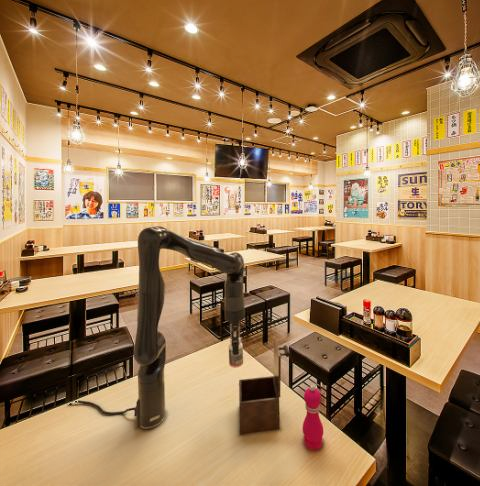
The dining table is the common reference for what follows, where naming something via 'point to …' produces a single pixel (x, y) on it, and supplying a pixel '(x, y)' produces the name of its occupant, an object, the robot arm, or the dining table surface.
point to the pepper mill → (312, 419)
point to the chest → (258, 405)
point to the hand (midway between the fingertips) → (235, 349)
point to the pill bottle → (235, 359)
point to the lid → (278, 364)
